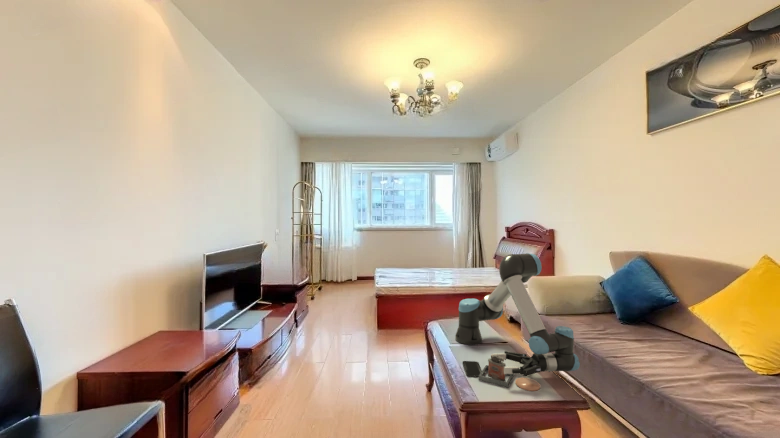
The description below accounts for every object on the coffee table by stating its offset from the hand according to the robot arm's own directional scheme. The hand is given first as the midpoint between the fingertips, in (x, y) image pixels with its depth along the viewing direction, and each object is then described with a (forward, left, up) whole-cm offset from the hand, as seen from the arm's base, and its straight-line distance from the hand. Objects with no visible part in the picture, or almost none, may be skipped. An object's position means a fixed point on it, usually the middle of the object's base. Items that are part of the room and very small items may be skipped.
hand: (497, 363), depth 150 cm
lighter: (0, -1, -7) cm, 7 cm away
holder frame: (0, -1, -7) cm, 7 cm away
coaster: (-1, +12, -7) cm, 14 cm away
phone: (-3, -12, -8) cm, 15 cm away
